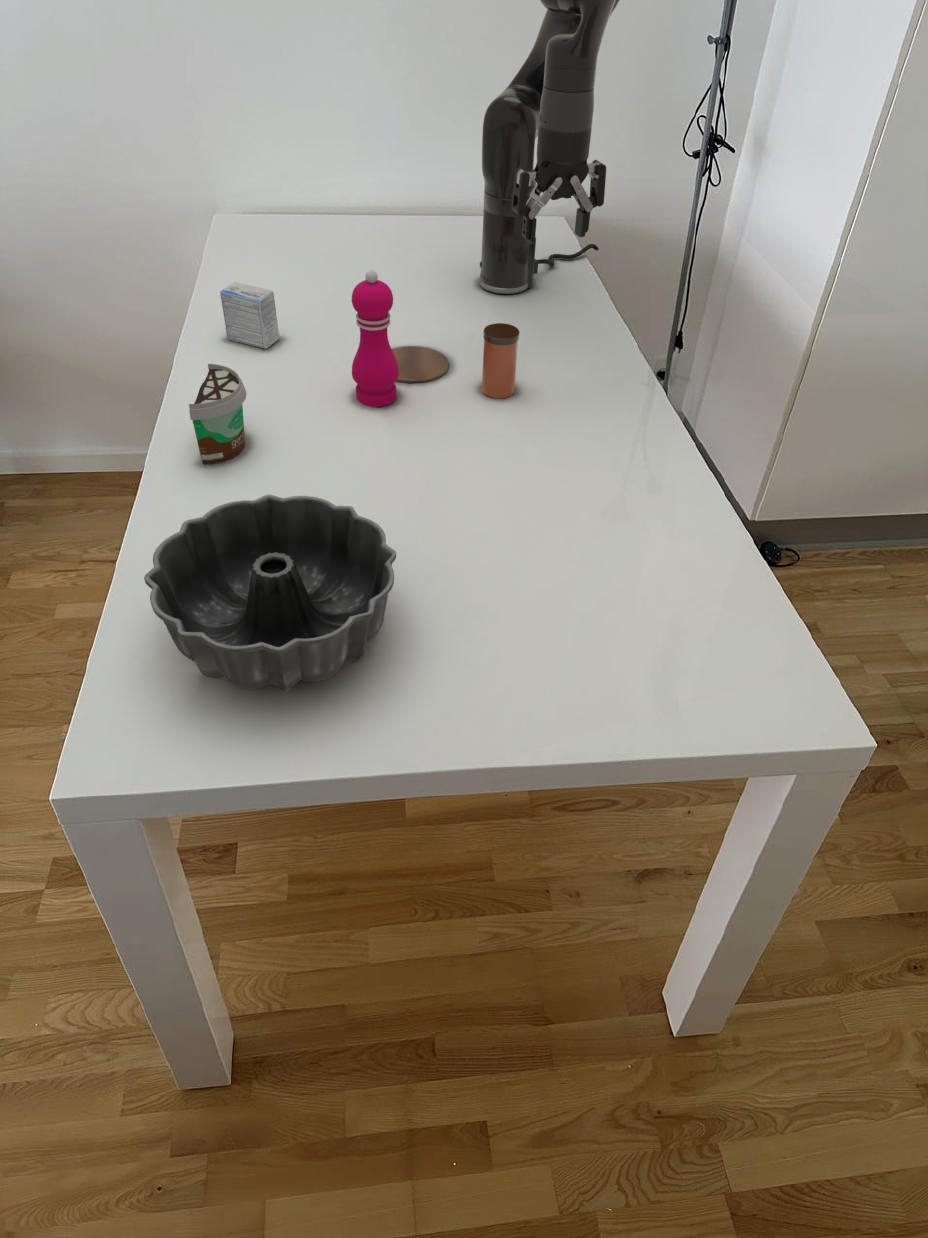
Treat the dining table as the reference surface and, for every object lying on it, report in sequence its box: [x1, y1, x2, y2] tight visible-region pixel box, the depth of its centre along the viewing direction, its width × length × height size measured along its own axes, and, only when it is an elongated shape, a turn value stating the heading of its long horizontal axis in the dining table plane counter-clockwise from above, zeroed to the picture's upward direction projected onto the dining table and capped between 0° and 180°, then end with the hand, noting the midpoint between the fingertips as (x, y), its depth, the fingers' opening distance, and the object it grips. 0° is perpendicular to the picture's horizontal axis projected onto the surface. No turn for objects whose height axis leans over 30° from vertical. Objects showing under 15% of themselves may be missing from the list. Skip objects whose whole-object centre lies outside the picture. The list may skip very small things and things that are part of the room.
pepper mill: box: [351, 269, 399, 408], centre depth 138 cm, size 7×7×20 cm
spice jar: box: [481, 322, 520, 399], centre depth 144 cm, size 6×6×10 cm
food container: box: [188, 363, 247, 465], centre depth 129 cm, size 12×6×10 cm, turn 179°
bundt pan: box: [143, 494, 397, 692], centre depth 102 cm, size 26×26×10 cm
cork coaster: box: [391, 345, 450, 384], centre depth 152 cm, size 12×12×1 cm
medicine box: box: [219, 281, 280, 350], centre depth 154 cm, size 8×4×9 cm, turn 65°
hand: (555, 238), depth 141 cm, fingers open, 8 cm apart
